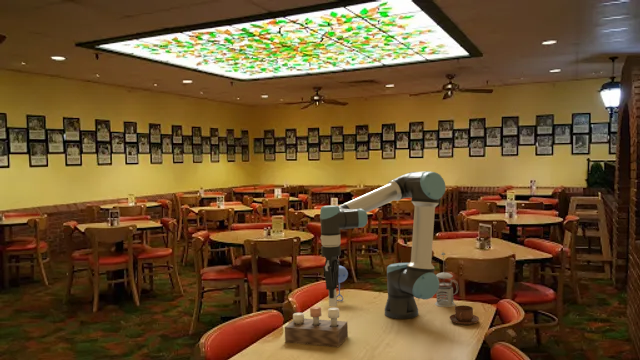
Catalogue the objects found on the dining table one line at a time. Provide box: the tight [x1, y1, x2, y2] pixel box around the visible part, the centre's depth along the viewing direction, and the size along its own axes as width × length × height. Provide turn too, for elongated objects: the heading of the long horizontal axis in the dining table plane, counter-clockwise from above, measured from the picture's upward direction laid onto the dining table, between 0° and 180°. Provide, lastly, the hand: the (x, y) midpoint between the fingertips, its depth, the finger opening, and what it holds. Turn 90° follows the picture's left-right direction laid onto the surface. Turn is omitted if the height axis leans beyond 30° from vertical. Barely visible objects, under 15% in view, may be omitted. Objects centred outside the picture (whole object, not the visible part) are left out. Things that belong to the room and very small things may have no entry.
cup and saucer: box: [449, 304, 480, 325], centre depth 208 cm, size 12×12×6 cm
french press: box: [434, 252, 459, 308], centre depth 234 cm, size 10×12×25 cm
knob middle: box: [309, 305, 322, 326], centre depth 194 cm, size 4×4×7 cm
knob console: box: [284, 317, 349, 348], centre depth 194 cm, size 22×12×6 cm, turn 70°
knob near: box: [327, 307, 340, 327], centre depth 191 cm, size 4×4×7 cm
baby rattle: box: [337, 265, 349, 302], centre depth 248 cm, size 9×9×18 cm
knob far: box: [292, 312, 305, 324], centre depth 196 cm, size 4×4×7 cm
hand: (333, 305), depth 191 cm, fingers closed
